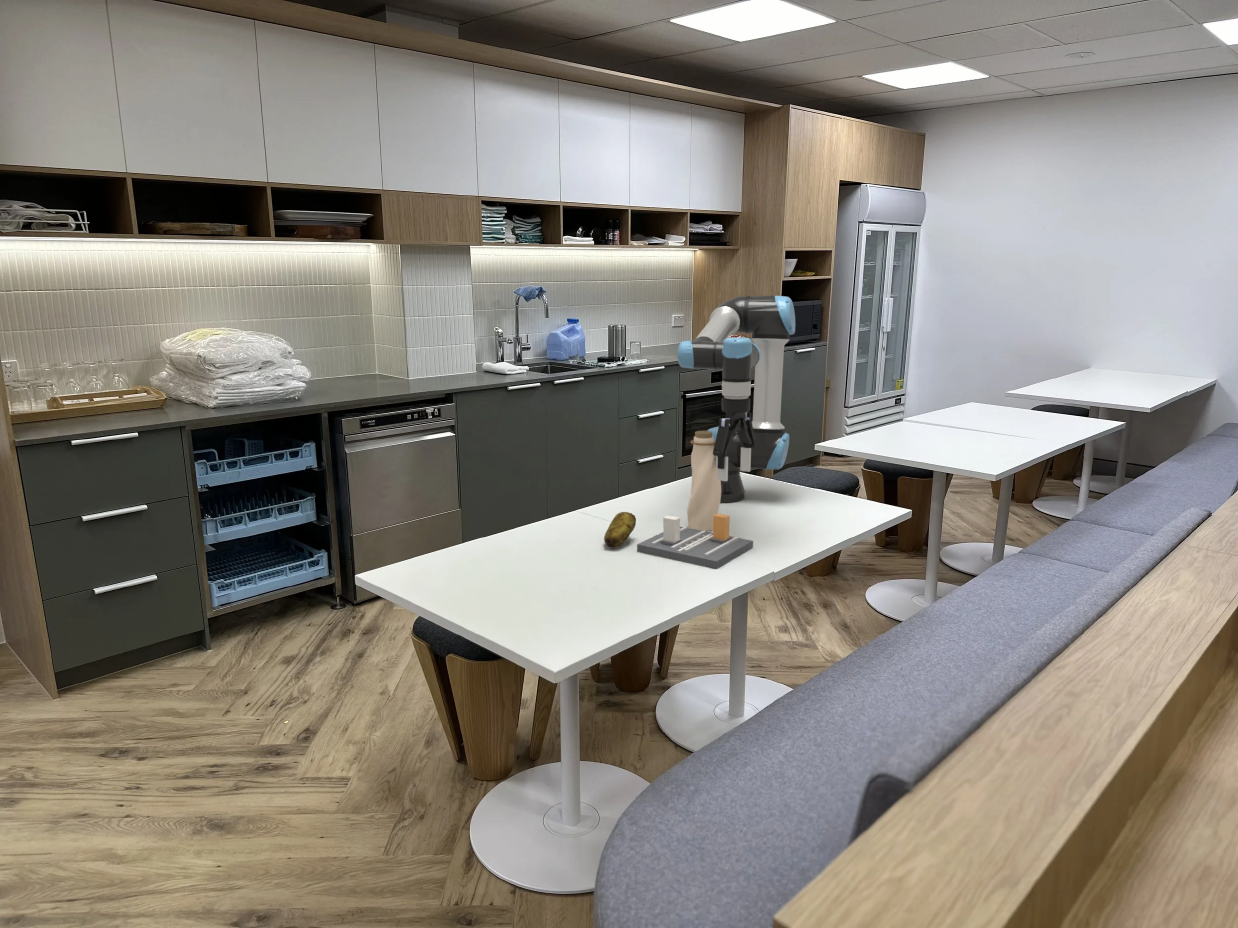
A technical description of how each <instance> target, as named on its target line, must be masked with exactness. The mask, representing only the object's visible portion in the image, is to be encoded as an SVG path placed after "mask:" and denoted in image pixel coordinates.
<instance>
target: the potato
mask: <svg viewBox="0 0 1238 928" xmlns="http://www.w3.org/2000/svg"><path fill="white" fill-rule="evenodd" d="M636 525H637V518H636V515H635V514H633V513H631V512H630V511H629V512H628V511H620V512H618V513H617V514H615V516H614V517H613V519H612V520H611V522H610V524H609V526H608V528H607V529H606V531H605V533H604V537H603V540H604V541H603V542H604V544H605V545H606V546H607V547H608V548H611V549H615V548H618V547H620V546H621V545H622V543H623V542H625V541H626V540H628V538H629V537H630V535H631V534H632V533H633V531H634V530H635V527H636Z"/></svg>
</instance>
